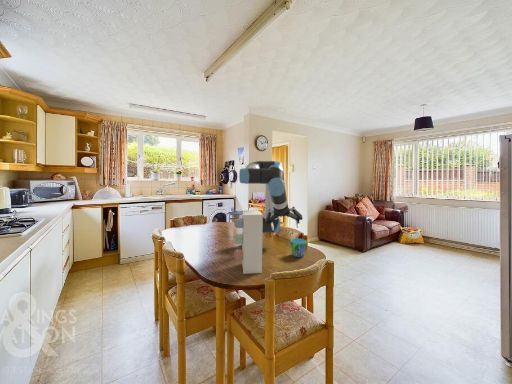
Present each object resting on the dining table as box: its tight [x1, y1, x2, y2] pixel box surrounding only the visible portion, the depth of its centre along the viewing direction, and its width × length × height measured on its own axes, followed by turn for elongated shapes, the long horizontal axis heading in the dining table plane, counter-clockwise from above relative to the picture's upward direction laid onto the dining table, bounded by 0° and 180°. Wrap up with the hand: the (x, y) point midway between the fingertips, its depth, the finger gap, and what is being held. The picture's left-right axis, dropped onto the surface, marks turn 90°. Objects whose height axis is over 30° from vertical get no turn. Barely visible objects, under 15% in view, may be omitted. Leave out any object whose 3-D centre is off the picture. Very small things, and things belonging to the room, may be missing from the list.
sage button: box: [233, 233, 243, 245], centre depth 126 cm, size 5×4×4 cm
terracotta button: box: [233, 249, 243, 261], centre depth 127 cm, size 5×4×4 cm
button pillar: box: [241, 210, 264, 275], centre depth 127 cm, size 10×14×32 cm
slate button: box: [233, 218, 243, 229], centre depth 125 cm, size 5×4×4 cm
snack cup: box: [289, 238, 308, 258], centre depth 149 cm, size 16×10×10 cm
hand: (285, 227), depth 127 cm, fingers open, 13 cm apart
